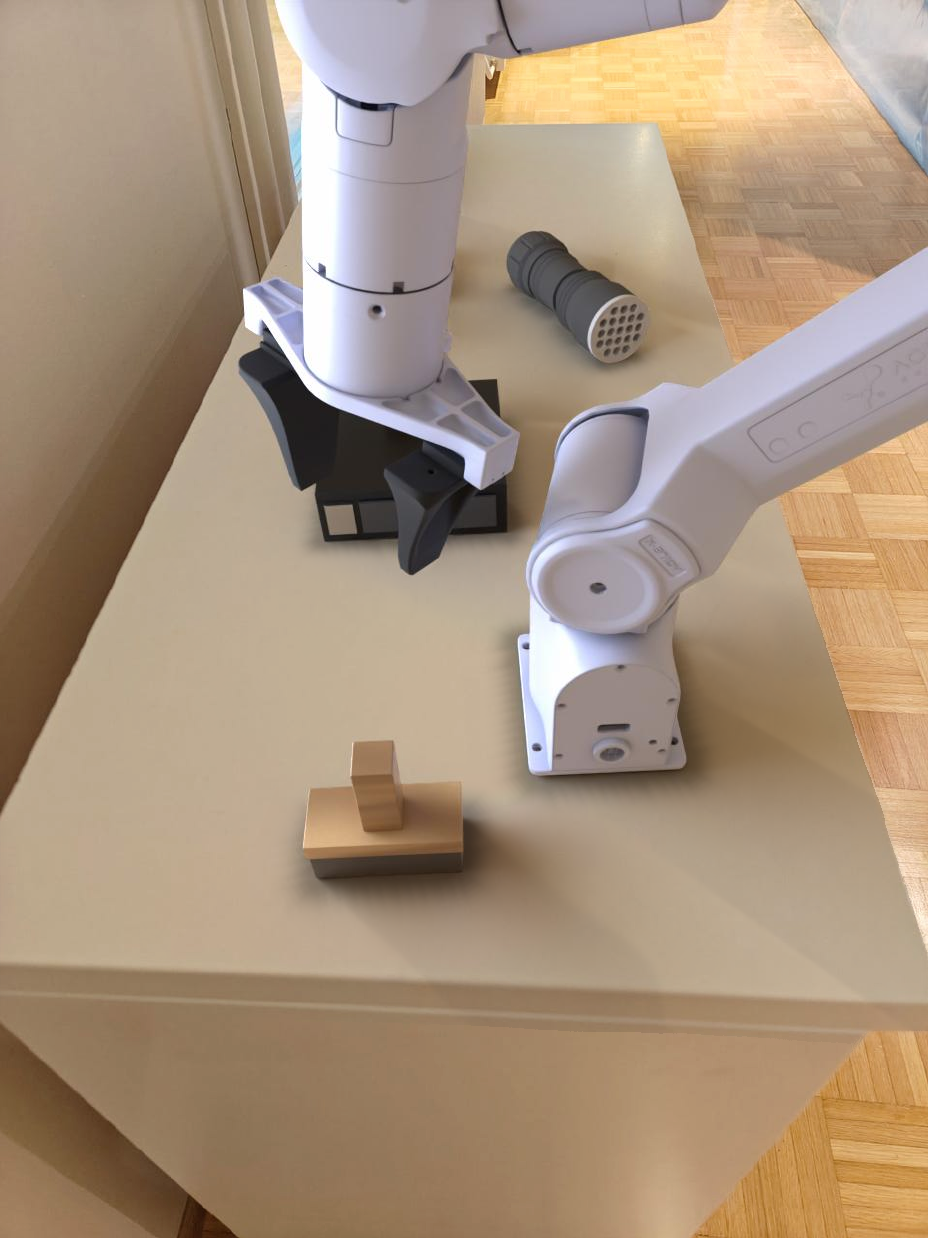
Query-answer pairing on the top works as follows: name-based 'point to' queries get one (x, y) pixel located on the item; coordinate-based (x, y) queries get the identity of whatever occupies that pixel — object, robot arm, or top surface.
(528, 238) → the flashlight
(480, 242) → the top surface
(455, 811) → the brush
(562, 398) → the top surface
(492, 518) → the box
